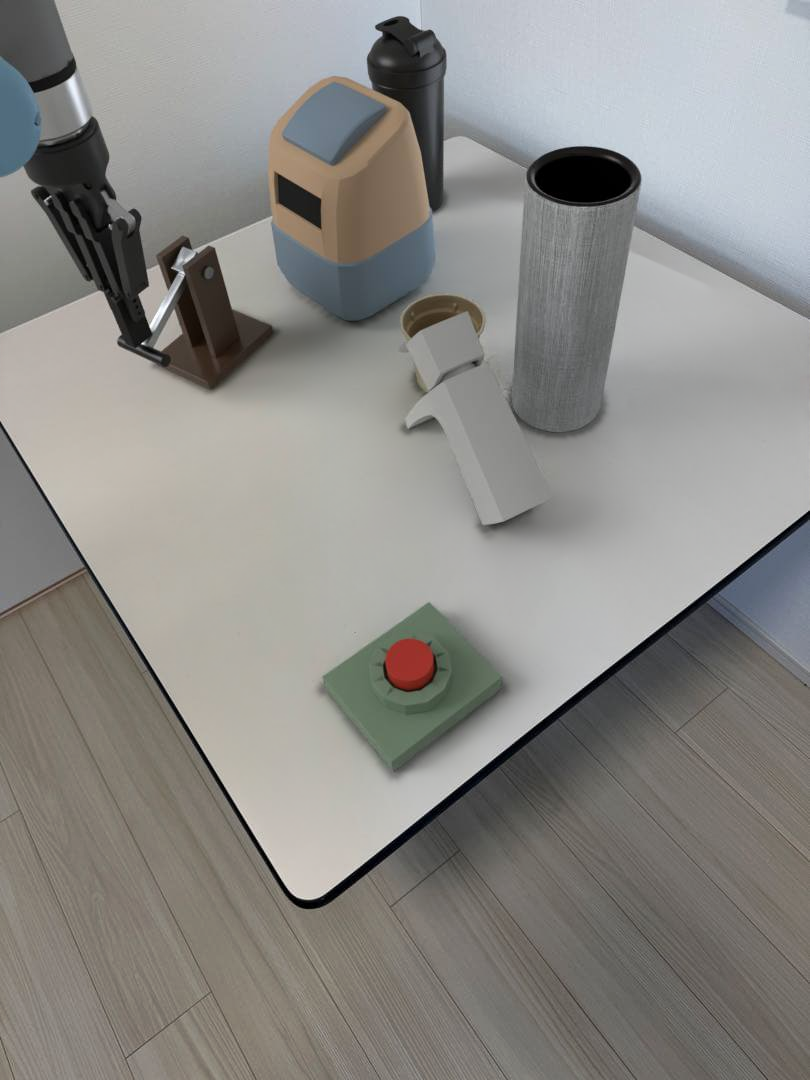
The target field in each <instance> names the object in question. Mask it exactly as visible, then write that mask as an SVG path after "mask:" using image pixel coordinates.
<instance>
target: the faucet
mask: <svg viewBox="0 0 810 1080" xmlns="http://www.w3.org/2000/svg"><path fill="white" fill-rule="evenodd" d="M397 351H398V352H400V353H404V354H405V353H406V354H407V353H408V354H409V355H410V357H411V358H412V362H413V361H414V363H415V365H416V367H417V369H418V371H419V373H420V375H421V377H422V379H423V381H424V383H425V385H426V387H427V389H428V391H430V390H431V391H430V392H429V393H427V392H426V394H425V395H423V396H422V397H421V398H420V399H419V400H418V401H417V402H416V403H415V404H414V406H413V407H412V408H411V409H410V411H409V413H408V414H407V416H406V417H405V425H406V428H407V429H408V430H409V429H412V428H413V427H415V426H419V425H421V424H422V423H425V422H427V421H429V420H431V419H436V420H437V422H438V423H439V425H440V426H441V428H442V430H443V431H444V434H445V436H446V438H447V440H448V441H447V442H448V443H449V445H450V448H451V450H452V454H453V455H454V459H455V460H456V463H457V465H458V468H459V471H460V473H461V476H462V478H463V480H464V483H465V485H466V487H467V490H468V493H469V495H470V498H471V501H472V503H473V505H474V508H475V510H476V512H477V515H478V517H479V520H480V522H481V524H482V526H488V525H494V524H498V523H499V524H500V523H503V522H506V521H508V520H510V519H512V518H515V517H516V516H518V515H520V514H523V513H524V512H526V511H529V510H531V509H533V508H535V507H537V506H539V505H540V504H543V503H544V502H546V501H548V500H550V499H552V498H554V497H555V496H554V495H553V492H552V491H551V488H550V485H549V484H548V482H547V480H546V478H545V476H544V473H543V472H542V470H541V468H540V466H539V463H538V461H537V460H536V457H535V455H534V453H533V451H532V449H531V447H530V445H529V443H528V442H527V438H526V437H525V435H524V433H523V431H522V429H521V427H520V425H519V422H518V421H517V419H516V417H515V415H514V413H513V410H512V409H511V406H510V404H509V402H508V400H507V399H506V396H505V394H504V392H503V390H502V388H501V386H500V384H499V382H498V380H497V378H496V376H495V373H494V372H493V370H492V368H491V365H490V364H489V362H488V361H487V362H484V363H483V361H484V359H485V356H486V354H485V352H484V349H483V347H482V344H481V341H480V338H478V336H477V333H476V331H475V328H474V326H473V323H472V321H471V318H470V316H469V313H468V311H467V312H464V313H462V314H459V315H456V316H454V317H451V318H449V319H446V320H444V321H442V322H439V323H437V324H435V325H432V326H430V327H428V328H425V329H423V330H421V331H419V332H418V333H417V334H416V335H415V336H413V337H412V338H411V339H410V340H409V342H407V341H406V342H403V343H402V344H400V346H399V347H398V349H397ZM414 363H413V364H414Z"/></svg>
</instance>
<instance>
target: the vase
mask: <svg viewBox="0 0 810 1080" xmlns="http://www.w3.org/2000/svg"><path fill="white" fill-rule="evenodd" d="M524 177H525V178H524V191H523V207H522V209H523V210H522V222H521V223H522V224H521V225H522V226H521V240H520V254H519V256H520V257H519V271H518V272H519V275H518V286H517V287H518V290H517V306H516V322H515V337H514V353H513V355H514V357H513V369H512V370H513V371H512V385H511V386H512V387H511V388H512V389H511V402H512V407H513V409H514V412H515V413H516V415H517V416H518V417H519V418H520V419H521V420H522V421H523V422H525V423H526V424H527V425H529V426H531V427H533V428H535V429H538V430H542V431H545V432H553V433H565V432H572V431H576V430H579V429H581V428H584V427H585V426H588V425H589V424H590V423H591V422H592V421H593V420H594V419H595V418H596V417H597V415H598V414H599V412H600V409H601V406H602V402H603V396H604V392H605V386H606V382H607V381H606V380H607V375H608V370H609V365H610V360H611V359H610V358H611V355H612V354H611V353H612V347H613V342H614V336H615V332H616V325H617V321H618V315H619V310H620V302H621V298H622V292H623V287H624V282H625V276H626V272H627V265H628V259H629V254H630V248H631V242H632V238H633V231H634V226H635V220H636V214H637V209H638V204H639V198H640V194H641V188H642V187H641V186H642V181H643V179H642V173H641V171H640V169H639V167H638V166H637V164H636V163H635V162H634V161H633V160H632V159H630V158H629V157H628V156H626V155H624V154H622V153H620V152H618V151H615V150H612V149H609V148H604V147H600V146H592V145H572V146H566V147H561V148H560V147H559V148H556V149H553V150H550V151H548V152H546V153H543V154H541V155H540V156H539V157H537V158H536V159H535V160H534V161H532V162H531V163H530V165H529V166H528V168H527V170H526V171H525V176H524Z"/></svg>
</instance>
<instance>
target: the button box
mask: <svg viewBox="0 0 810 1080" xmlns="http://www.w3.org/2000/svg"><path fill="white" fill-rule="evenodd" d="M409 638H410V639H417V640H420V641H422V642H424V643H425V644H427V645H428V646H429V648H430V649H431V651H432V653H433V660H434V673H433V676H432V678H431V680H430V681H429V682H428V683H427V684H426V685H425V686H423V687H421V688H419V689H416V690H404V689H401V688H398V687H397V686H395V685H394V684H393V683H392V682H391V681H390V679H389V677H388V674H387V668H386V661H385V660H386V654H387V652H388V650H389V649H390V647H391V646H392V645H393V644H395V643H396V642H398V641H400V640H403V639H409ZM321 678H322V681H323V684H324V685H323V686H324V688H325V690H326V691H327V692H328V693H329V695H330V696H331V697H332V698H333V700H334V701H335V702H336V703H337V704H338V706H339V707H340V708H341V710H342V711H343V712H344V713H345V715H346V716H348V718H349V719H350V720H351V722H352V723H353V724H354V725H355V727H356V728H357V729H358V731H359V732H360V733H361V734H362V736H363V737H364V738H365V739H366V740H367V742H368V743H369V744H370V746H371V747H372V748H373V749H374V750H375V752H376V753H377V754H378V755H379V756H380V758H381V759H382V760H383V761H384V763H385V764H386V765H387V766H388V768H389V769H390V771H392V772H393V773H394V772H395V771H397V770H398V769H399V768H401V767H402V766H403V765H404V764H406V763H407V762H408V761H409V760H411V759H412V758H413V757H415V756H416V755H417V754H419V753H420V752H421V751H423V750H424V749H425V748H427V747H428V746H429V745H431V744H432V743H433V742H434V741H435V740H437V739H438V738H439V737H440V736H442V735H443V734H444V733H446V732H447V731H448V730H450V729H451V728H453V727H454V726H455V725H457V724H458V723H459V722H460V721H461V720H463V719H464V718H465V717H466V716H468V715H469V714H470V713H471V712H473V711H474V710H475V709H477V708H478V707H479V706H481V705H483V703H485V702H486V701H487V700H488V699H490V698H491V697H492V696H494V694H496V693H497V692H499V691H500V690H501V689H502V682H503V676H502V675H501V674H500V673H499V672H498V671H497V670H496V669H495V668H494V667H493V666H492V665H491V664H490V663H489V661H487V660H486V659H485V657H483V655H482V654H480V652H479V651H478V650H477V649H476V648H474V646H473V645H472V644H471V643H470V642H469V641H468V640H467V639H466V638H465V637H464V636H463V634H461V633H460V632H459V631H458V630H457V628H455V627H454V626H453V625H452V624H451V623H450V622H449V621H448V620H447V619H446V618H445V616H443V614H442V613H441V612H439V610H438V609H437V608H436V607H435V606H434V605H433V604H432V603H431V602H430V601H428V602H427V603H425V604H424V605H422V606H421V607H420V608H418V609H416V610H415V611H414V612H413V613H411V614H409V615H408V616H407V617H405V618H404V619H402V620H401V621H400V622H398V623H397V624H396V625H393V626H392V627H391V628H390V629H389V630H387V631H385V632H384V633H382V634H381V635H380V636H378V637H377V638H375V639H373V640H372V641H371V642H369V643H368V644H367V645H365V646H363V648H361V649H359V650H358V651H357V652H356V653H354V654H352V655H351V656H349V657H348V658H347V659H346V660H344V661H342V662H341V663H339V664H338V665H337V666H335V667H334V668H332V669H331V670H330V671H328V672H327V673H325V674H324V675H323V676H322V677H321Z"/></svg>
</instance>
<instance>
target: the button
mask: <svg viewBox="0 0 810 1080" xmlns="http://www.w3.org/2000/svg"><path fill="white" fill-rule="evenodd" d="M385 661H386V668H387V674H388V677H389V679H390V681H391V682H392V683H393V684H394V685H395V686H397V687H398V688H401V689H404V690H416V689H419V688H421V687H423V686H425V685H426V684H427V683H428V682H429V681H430V680H431V678H432V676H433V673H434V660H433V653H432V651H431V649H430V648H429V646H428V645H427V644H425V643H424V642H422V641H420V640H417V639H410V638H409V639H403V640H400V641H398V642H396V643H395V644H393V645H392V646H391V647H390V649H389V650H388V652H387V654H386V660H385Z"/></svg>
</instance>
